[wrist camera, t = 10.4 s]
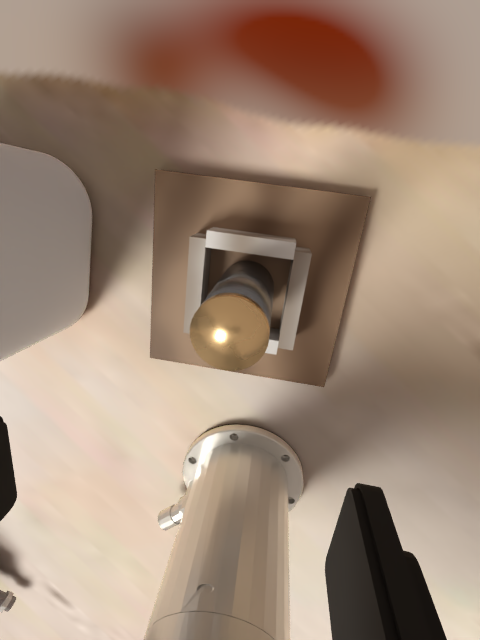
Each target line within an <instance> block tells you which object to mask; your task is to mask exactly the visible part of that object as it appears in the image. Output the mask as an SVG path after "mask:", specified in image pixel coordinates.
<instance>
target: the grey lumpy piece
mask: <svg viewBox="0 0 480 640" xmlns="http://www.w3.org/2000/svg"><path fill="white" fill-rule="evenodd" d="M13 594H14V593H12V592H10V591H7V592H6V593H5V592H3V591H1V590H0V612H1V613H2V612H3V611H4V610H5V611H7V612H8V611H9V610H10V609H11V607H12V606H13V604H14V602H15V600H16V597H15V596H13Z"/></svg>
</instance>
